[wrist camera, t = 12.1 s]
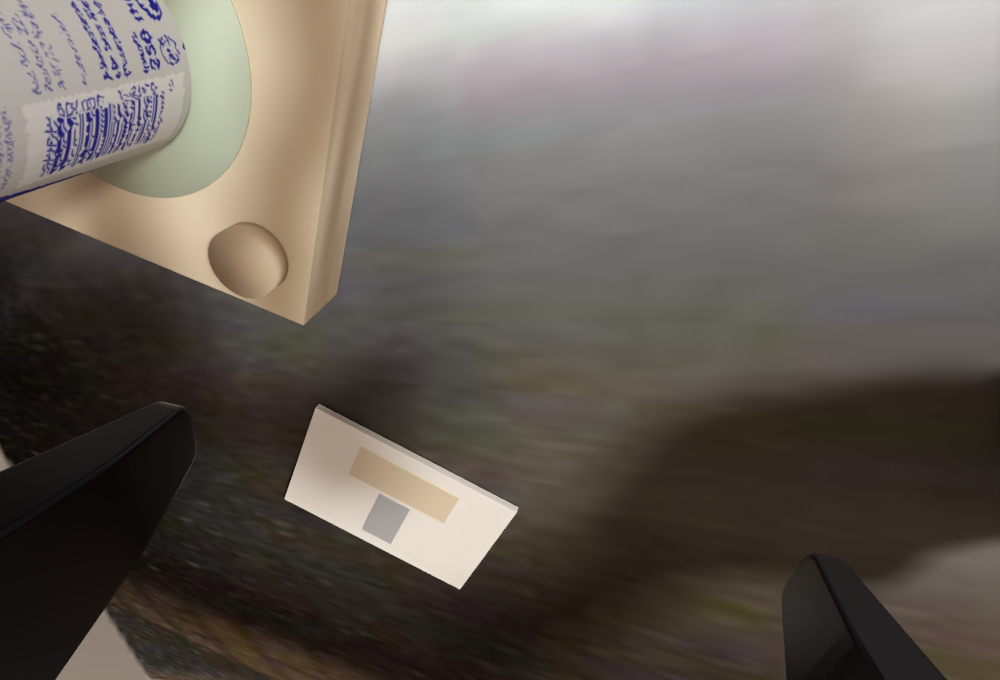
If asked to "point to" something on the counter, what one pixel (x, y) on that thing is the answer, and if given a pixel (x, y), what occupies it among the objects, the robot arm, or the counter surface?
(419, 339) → the counter surface
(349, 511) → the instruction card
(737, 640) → the counter surface
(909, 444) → the counter surface
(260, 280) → the base brick
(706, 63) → the counter surface
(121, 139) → the beverage can
